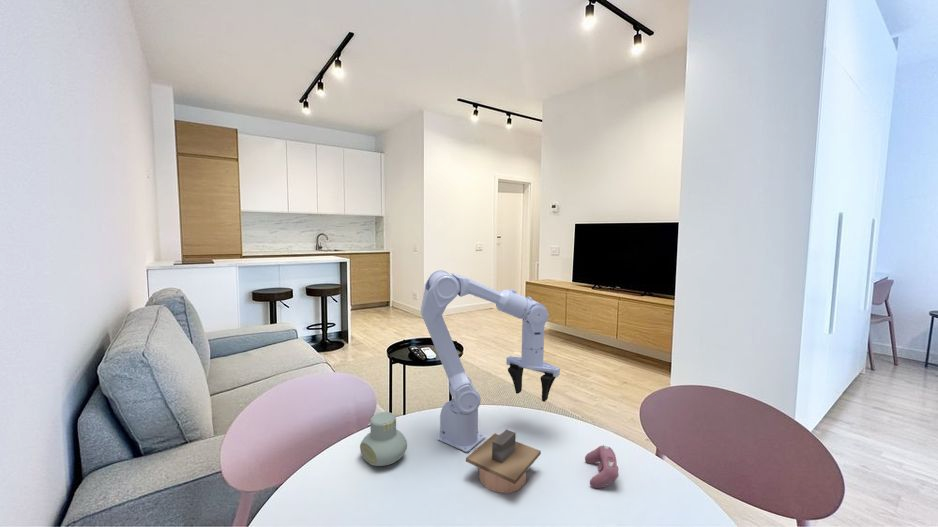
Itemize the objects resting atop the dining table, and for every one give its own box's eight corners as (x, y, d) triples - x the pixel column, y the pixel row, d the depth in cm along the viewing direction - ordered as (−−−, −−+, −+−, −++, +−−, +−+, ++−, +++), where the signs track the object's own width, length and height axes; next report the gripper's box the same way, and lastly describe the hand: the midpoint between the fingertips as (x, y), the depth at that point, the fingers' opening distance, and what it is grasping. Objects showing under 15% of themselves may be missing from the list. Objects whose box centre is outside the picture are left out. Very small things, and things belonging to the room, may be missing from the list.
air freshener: (356, 455, 88) (355, 415, 87) (385, 441, 94) (385, 403, 93) (381, 477, 80) (381, 433, 79) (412, 460, 86) (411, 419, 85)
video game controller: (608, 498, 76) (625, 472, 75) (588, 486, 77) (605, 460, 76) (600, 468, 86) (615, 444, 85) (582, 458, 87) (597, 434, 86)
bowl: (470, 479, 80) (471, 462, 79) (494, 456, 88) (495, 440, 87) (511, 499, 74) (511, 480, 73) (533, 472, 82) (533, 455, 82)
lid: (465, 461, 79) (466, 440, 79) (494, 436, 89) (495, 417, 89) (514, 484, 72) (515, 461, 72) (540, 454, 82) (541, 433, 82)
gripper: (564, 347, 96) (563, 397, 97) (515, 337, 104) (514, 384, 105) (554, 355, 90) (552, 408, 91) (502, 344, 98) (502, 392, 100)
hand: (531, 396), depth 98 cm, fingers open, 7 cm apart
